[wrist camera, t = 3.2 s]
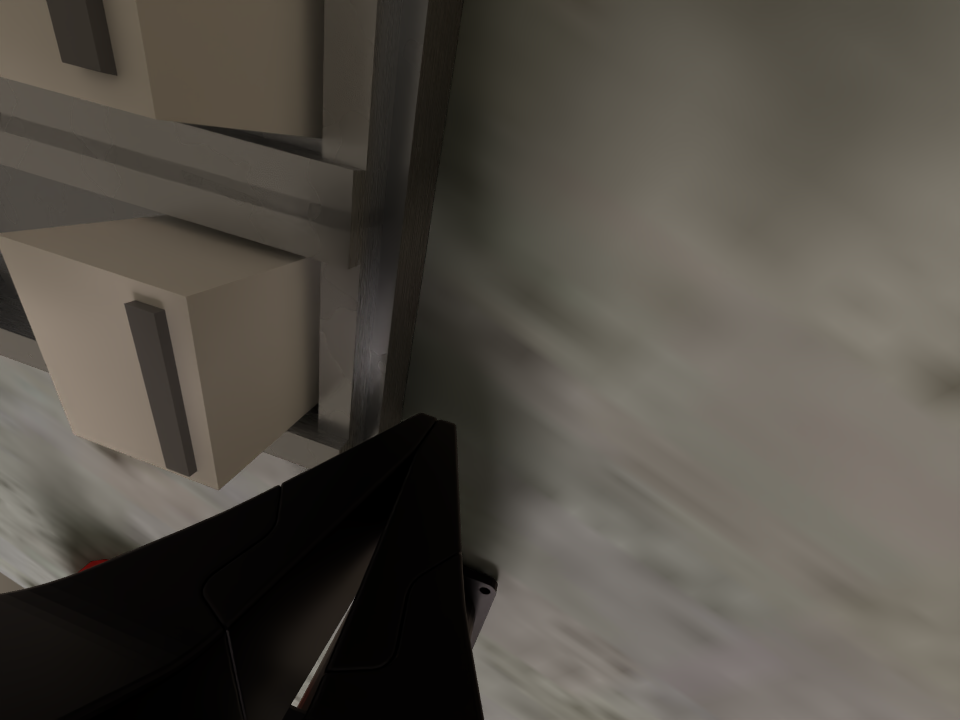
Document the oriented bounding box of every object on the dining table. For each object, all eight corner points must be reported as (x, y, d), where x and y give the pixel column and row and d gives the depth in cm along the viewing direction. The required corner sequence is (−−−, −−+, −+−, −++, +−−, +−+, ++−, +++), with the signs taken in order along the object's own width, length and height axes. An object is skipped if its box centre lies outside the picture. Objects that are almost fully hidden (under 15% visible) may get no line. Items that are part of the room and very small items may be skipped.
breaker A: (322, 399, 12) (211, 496, 9) (213, 361, 13) (63, 439, 9) (325, 252, 10) (175, 300, 6) (192, 212, 10) (-22, 235, 7)
